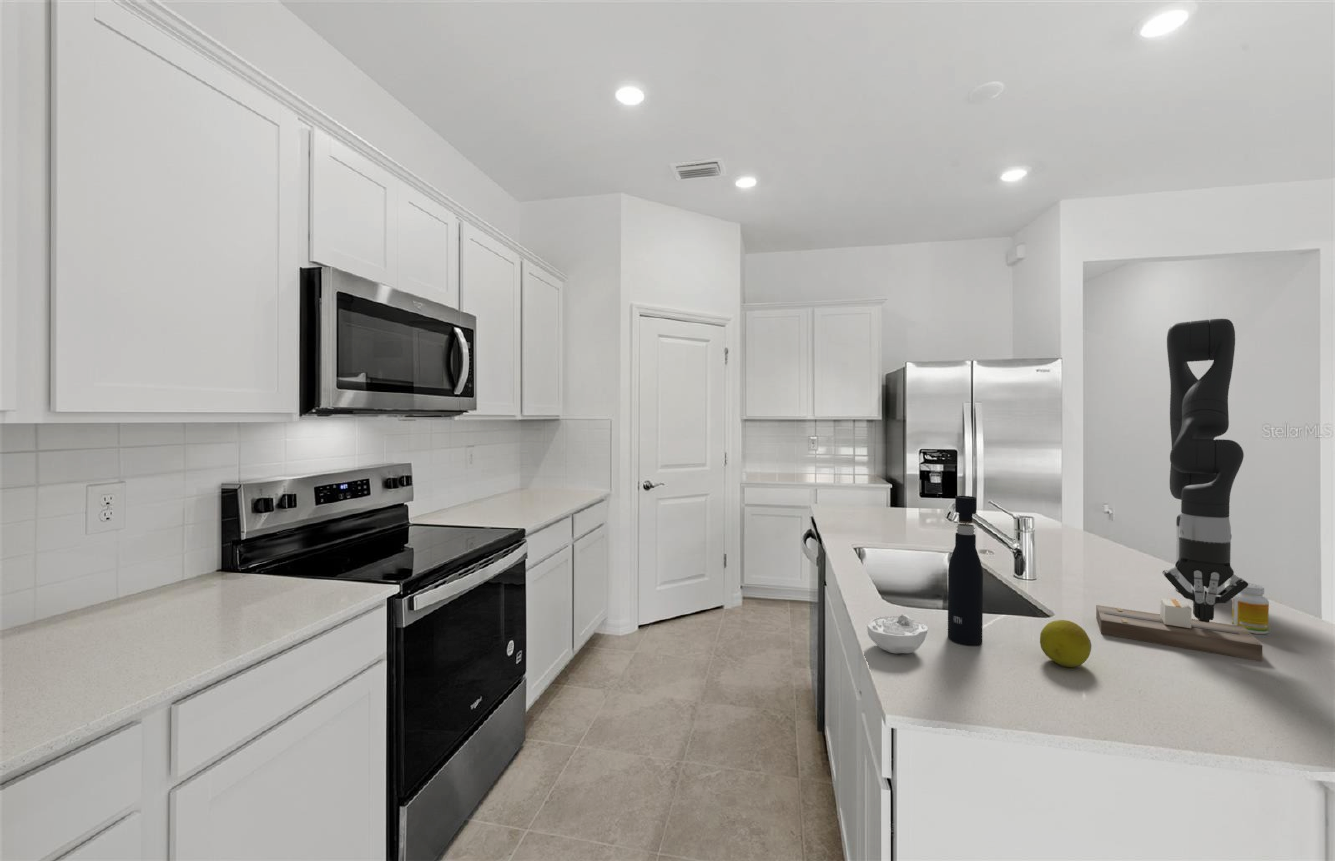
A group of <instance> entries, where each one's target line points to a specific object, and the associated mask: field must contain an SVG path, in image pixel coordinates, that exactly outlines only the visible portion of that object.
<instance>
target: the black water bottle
mask: <svg viewBox="0 0 1335 861" xmlns="http://www.w3.org/2000/svg"><path fill="white" fill-rule="evenodd" d="M954 500H955V510H954V512H955V513H957V514H958V522H959V523H957V525H956V532H955V533H954V534H955V536H954V538H955V543H954V544H955V545H954V548H953V550H952V553H951V556H950V559H949V564H948V569H947V638H948V640H950V641H951V642H953V643H956V644H958V645H961V646H968V647H969V646H970V647H975V646H980V645H982V644H983V615H984V614H983V612H984V611H983V609H984V607H983V603H984V599H983V598H984V597H983V592H984V589H983V588H984V582H983V581H984V580H983V579H984V573H983V568H982V562H981V558H980V556H979V554H978V551H977V547H976V544H977V539H976V536H977V535H976V534H975V525H974V524H973V522H974V521H973V515H975V514H977V496H971V495H956V496H955V499H954Z"/></svg>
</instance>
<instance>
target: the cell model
mask: <svg viewBox="0 0 1335 861" xmlns="http://www.w3.org/2000/svg"><path fill="white" fill-rule="evenodd" d="M866 627H867V628H866V630H867V635H868V637H869V639H870V640H871V641H872V642H873V643H874V644H876V646H877V647H878V648H880V649H882V650H883V651H886V652H888V653H890V654H912V653H915V651H917V650H918V649H919V648H920V647H921V646H922V645H923V643H924V641H925V640H926V636H927V634H928V632H929V627H928V626H927V625H926V624H924V623H922V622H920V621H917V620H914V619H912V618H911V617H909V616H908V615H907V614H900V615H899V616H895V615H892V616H882V615H881V616H878V617H874V618H872V619H870V621H869V622H868V623H867V624H866Z"/></svg>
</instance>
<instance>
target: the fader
mask: <svg viewBox="0 0 1335 861" xmlns="http://www.w3.org/2000/svg"><path fill="white" fill-rule="evenodd" d="M1159 606H1160V610H1159V611H1160V617H1161V619H1162V620H1163V622H1164V624H1166V625H1173V626H1179V627H1186V628H1191V619H1192V614H1193V608H1192V607H1191V606H1190V605H1189V604H1188V602H1186V601H1182V600H1181V601H1180V600H1177V599H1175V598H1170V599H1169V598H1160V605H1159Z"/></svg>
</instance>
